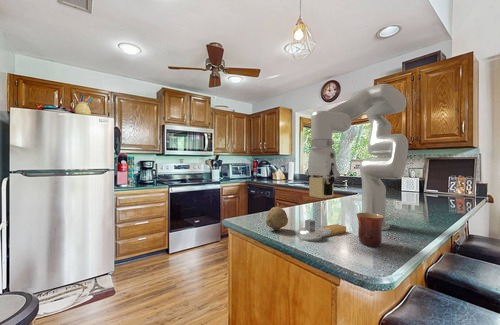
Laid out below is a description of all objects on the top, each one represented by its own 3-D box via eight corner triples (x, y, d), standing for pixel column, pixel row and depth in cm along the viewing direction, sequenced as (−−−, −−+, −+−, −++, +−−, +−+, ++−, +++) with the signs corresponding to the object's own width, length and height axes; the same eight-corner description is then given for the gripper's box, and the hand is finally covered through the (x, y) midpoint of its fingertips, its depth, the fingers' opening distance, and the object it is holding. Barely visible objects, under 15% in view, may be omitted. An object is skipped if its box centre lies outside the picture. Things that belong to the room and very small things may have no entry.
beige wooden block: (320, 194, 86) (320, 176, 86) (333, 197, 81) (333, 177, 81) (309, 196, 83) (309, 177, 83) (321, 198, 77) (322, 178, 78)
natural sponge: (292, 230, 94) (292, 207, 94) (278, 235, 88) (278, 210, 88) (276, 226, 100) (276, 204, 100) (262, 230, 95) (262, 206, 95)
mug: (357, 238, 85) (357, 211, 85) (384, 242, 80) (384, 214, 80) (353, 248, 75) (353, 217, 75) (383, 254, 70) (383, 221, 70)
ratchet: (333, 228, 98) (333, 213, 98) (350, 233, 90) (350, 217, 90) (293, 235, 87) (293, 219, 87) (309, 242, 79) (309, 224, 79)
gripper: (348, 144, 76) (348, 196, 76) (311, 147, 91) (311, 190, 91) (334, 142, 72) (333, 198, 72) (297, 146, 87) (297, 191, 87)
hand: (321, 193), depth 82 cm, fingers closed on beige wooden block, 6 cm apart
